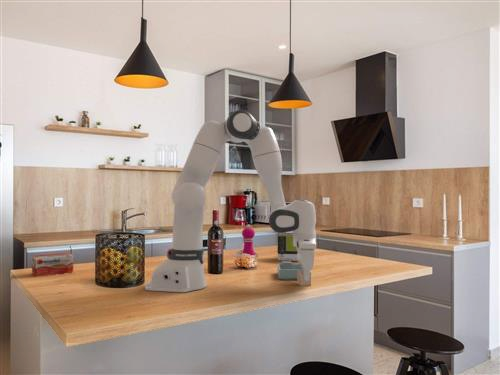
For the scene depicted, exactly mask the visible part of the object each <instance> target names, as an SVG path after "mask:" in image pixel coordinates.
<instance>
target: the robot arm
mask: <svg viewBox="0 0 500 375" xmlns="http://www.w3.org/2000/svg"><path fill="white" fill-rule="evenodd" d="M243 143H245V144H247V146H248V147H249V149H250V152H251V158H252V161H253V166H254V169H255V170H256V173H257V175H258V177H259V178H260V179H261V181H262V183H263V184H264V186H265V189H266V192H267V198H268V201H269V206H270V208H269V209H270V212H269V216H268V224H269V226H270V228H271V229H272V231H274V232H275V233H286V232H290V231H293V246H295V247H296V250H297V259H298V261H297V262H298V264H300V268H301V271H304V280H305V281H308V280H309V274H310V272H311V271H312V270H313V269H314V265H315V250H316V249H317V232H316V224H317V214H316V213H317V212H316V207H315V204H314V203H313V202H312V201H310V200H306V199H301V198H296V199H294V200H293V201H292V202H290V203H288V204H287V203H286V200H285V195H284V190H283V187H282V173H283V161H282V160H283V159H282V154H281V149H280V147H279V146H280V145H279V142H278V140H277V137H276V134H275V132H274V131H273V129H272V128H271V127H269V126H264V125H263V126H260V123H259V121H257V120H256V118H255V117H254V116H253V115H252V113H250V112H249V111H248V110H244V109H237V110H235V111H233V112H231V113H230V114H229V115H228V117H227V118H226V120H225V121H223V122H219V121H216V120H207V121H204V123H203V125H202V126H201V127H200V129H199V131H198V133H197V135H196V136H195V138H194V141H193V143H192V146H191V149H190V150H189V153H188V155H187V158H186V161H185V163H184V165H183V168H182V169H181V171H180V173H179V176H178V178H177V180H176V183H175V185H174V187H173V190H172V192H171V201H172V203H173V205H174V209H173V210H174V211H173V223H172V224H173V225H172V247H170V248H169V249H168V250H167V251H166V256H167V259H166V260H164V261H163V262H161V263H160V264H159V265H158V266H157V267H156V268H154V270H153V271H152V275H151V278H150V281H148V282H146V283H145V285H144V290H145V291H153V292H169V293H170V292H171V293H187V292H191V291H197V290H201V289H205V288H206V287H207V286H208V284H207V281H206V277H205V271H204V262H205V251H204V249H205V248H203V242H204V241H203V240H204V239H203V237H204V236H203V232H204V230H203V229H204V228H203V227H204V218H205V210H206V209H205V208H206V195H207V194H206V191H205V189H206V187H207V185H208V184H209V181H210V179H211V178H212V177H213V174H214V172H215V169H216V166H217V164H218V161H219V159H220V157H221V154H222V151H223V149H224V147H225V145H226V144H233V145H240V144H243Z"/></svg>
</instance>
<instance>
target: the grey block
mask: <svg viewBox="0 0 500 375" xmlns="http://www.w3.org/2000/svg"><path fill="white" fill-rule="evenodd" d="M281 264H282V268H281V269H292V264H293V263H292V261H284V260H281Z"/></svg>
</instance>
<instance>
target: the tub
mask: <svg viewBox="0 0 500 375" xmlns="http://www.w3.org/2000/svg"><path fill="white" fill-rule="evenodd" d="M281 268H282V263H277V276H278V280H285V281H286V280H287V281H288V280H290V281H292V280H294V281H295V280H296V281H297V271H301V268H300V263H292V269H281Z"/></svg>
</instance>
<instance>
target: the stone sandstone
mask: <svg viewBox="0 0 500 375" xmlns="http://www.w3.org/2000/svg"><path fill="white" fill-rule="evenodd" d="M296 281H297V282H296V283H297V285H299V286H300V285H301V286H300V287H306V286H307V287H308V286H312V272H311V271H310V274H309V280H308V281H305V280H304V271H297V280H296Z"/></svg>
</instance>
